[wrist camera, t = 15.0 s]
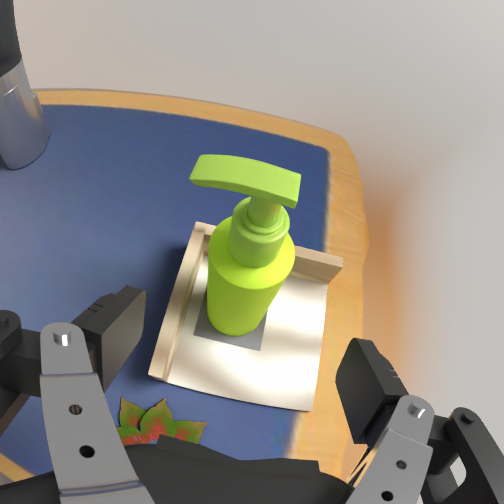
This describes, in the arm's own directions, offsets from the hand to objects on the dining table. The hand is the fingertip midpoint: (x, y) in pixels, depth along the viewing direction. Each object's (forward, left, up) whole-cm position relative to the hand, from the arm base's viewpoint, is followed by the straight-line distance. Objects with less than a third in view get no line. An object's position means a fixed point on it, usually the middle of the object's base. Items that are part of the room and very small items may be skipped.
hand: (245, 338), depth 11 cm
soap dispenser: (-8, -1, -20) cm, 21 cm away
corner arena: (-6, +2, -20) cm, 21 cm away
